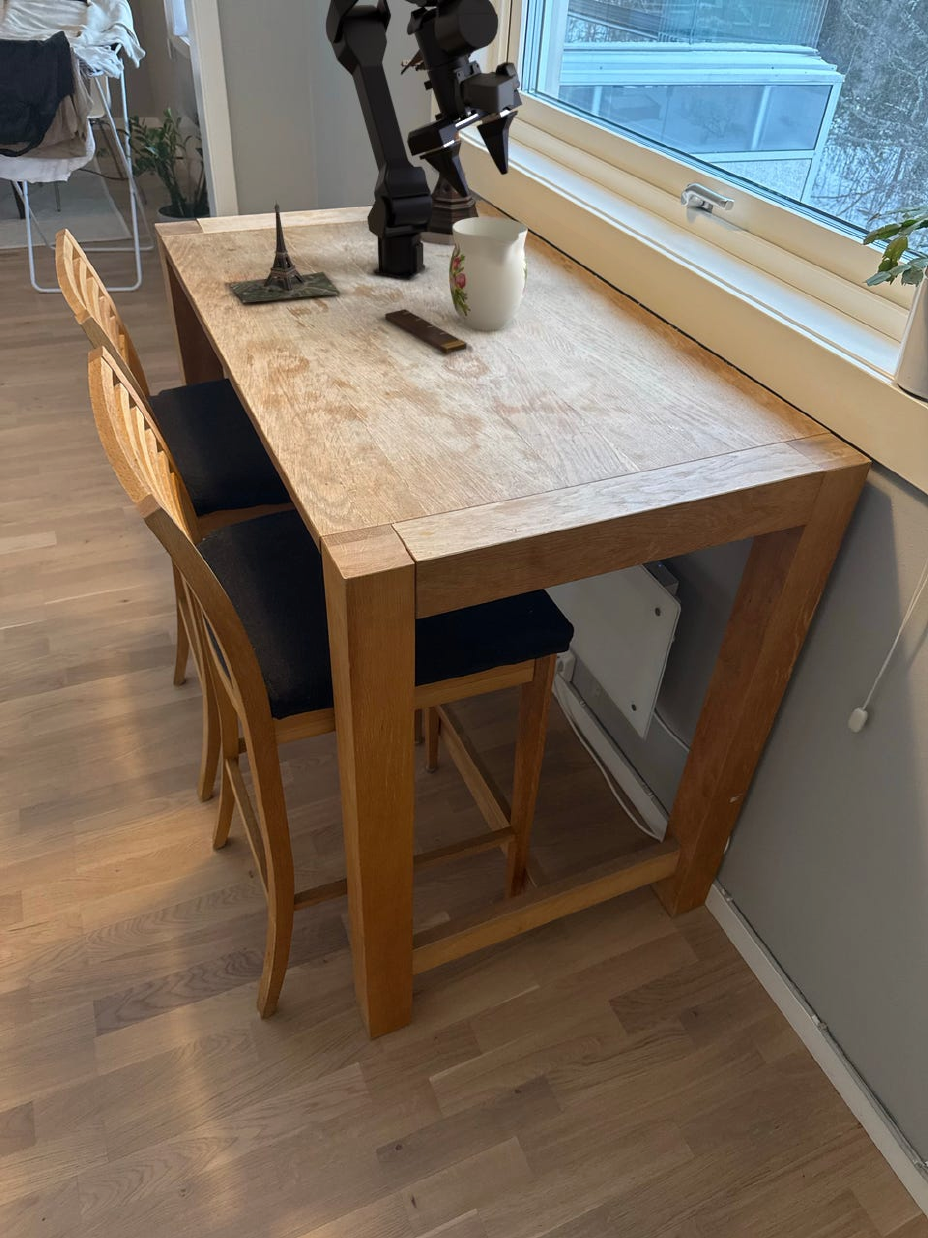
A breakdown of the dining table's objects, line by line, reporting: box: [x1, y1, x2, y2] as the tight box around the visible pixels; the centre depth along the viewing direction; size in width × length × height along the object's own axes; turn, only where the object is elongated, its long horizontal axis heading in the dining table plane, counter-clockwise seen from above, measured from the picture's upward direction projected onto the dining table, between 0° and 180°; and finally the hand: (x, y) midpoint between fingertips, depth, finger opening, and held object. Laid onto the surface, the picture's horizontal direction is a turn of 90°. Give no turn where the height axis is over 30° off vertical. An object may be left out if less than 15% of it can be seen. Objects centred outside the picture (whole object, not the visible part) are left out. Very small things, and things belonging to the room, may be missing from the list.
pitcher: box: [448, 216, 529, 332], centre depth 127 cm, size 11×18×14 cm, turn 19°
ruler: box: [384, 308, 467, 355], centre depth 127 cm, size 15×4×1 cm, turn 37°
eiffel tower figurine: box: [229, 199, 341, 304], centre depth 134 cm, size 15×10×13 cm
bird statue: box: [400, 48, 480, 246], centre depth 153 cm, size 17×13×35 cm
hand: (485, 185), depth 126 cm, fingers open, 9 cm apart
